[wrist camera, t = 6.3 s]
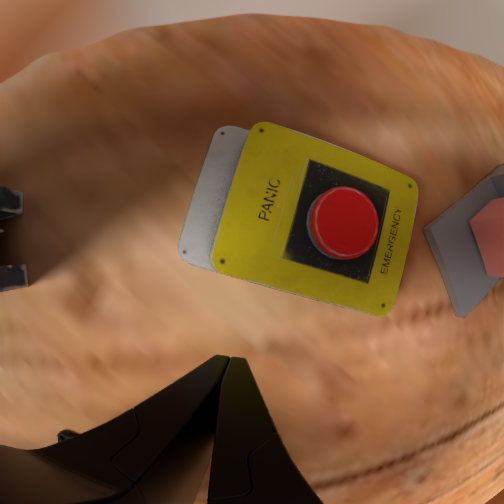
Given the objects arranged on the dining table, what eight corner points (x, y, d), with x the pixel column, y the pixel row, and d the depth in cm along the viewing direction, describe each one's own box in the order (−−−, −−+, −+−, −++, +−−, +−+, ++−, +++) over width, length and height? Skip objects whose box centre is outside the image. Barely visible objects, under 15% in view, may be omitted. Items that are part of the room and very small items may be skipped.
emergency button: (418, 330, 16) (160, 262, 14) (384, 317, 20) (175, 259, 19) (449, 185, 16) (216, 94, 15) (413, 195, 20) (218, 125, 19)
